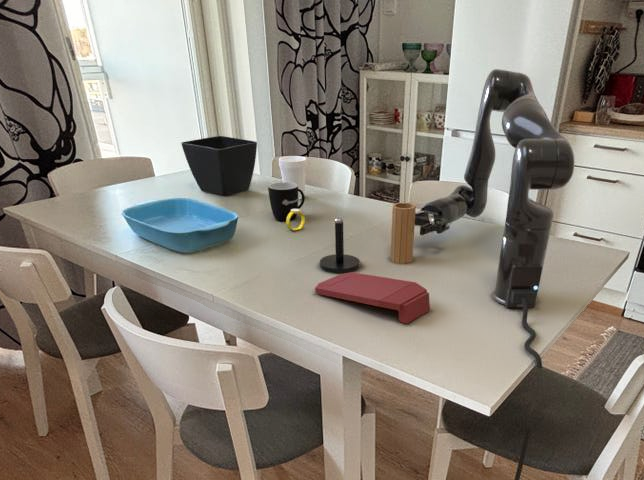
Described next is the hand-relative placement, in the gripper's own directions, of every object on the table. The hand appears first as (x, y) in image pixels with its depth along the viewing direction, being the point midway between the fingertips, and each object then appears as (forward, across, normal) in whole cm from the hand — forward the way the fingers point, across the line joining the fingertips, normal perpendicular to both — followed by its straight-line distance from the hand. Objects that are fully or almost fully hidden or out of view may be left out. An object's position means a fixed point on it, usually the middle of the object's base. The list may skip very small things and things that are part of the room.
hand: (407, 227), depth 132 cm
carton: (+26, +8, +8) cm, 28 cm away
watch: (+2, -38, +8) cm, 39 cm away
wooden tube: (+2, 0, +8) cm, 8 cm away
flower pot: (-14, -89, +8) cm, 90 cm away
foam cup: (-24, -63, +8) cm, 68 cm away
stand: (+15, -10, +8) cm, 20 cm away
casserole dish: (+27, -58, +8) cm, 64 cm away
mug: (-5, -48, +8) cm, 49 cm away
